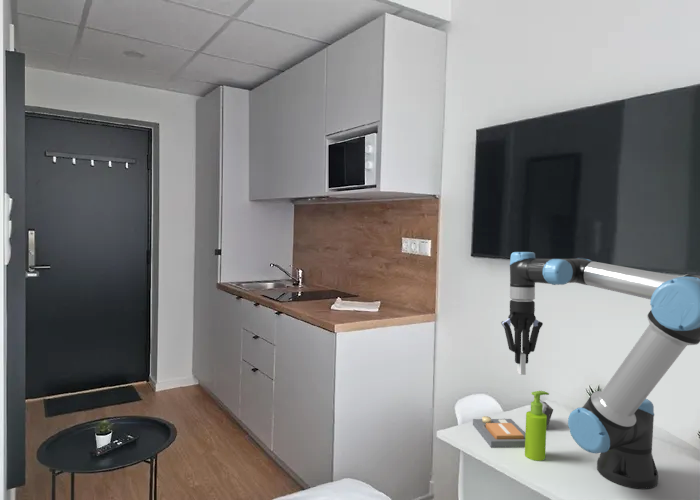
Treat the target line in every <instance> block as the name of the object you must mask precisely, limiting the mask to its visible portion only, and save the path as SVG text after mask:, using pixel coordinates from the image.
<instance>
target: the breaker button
mask: <svg viewBox="0 0 700 500" xmlns="http://www.w3.org/2000/svg"><path fill="white" fill-rule="evenodd" d="M486 429H487V430H488V431H489V432H490V433H491V434H492V436H493V437H494V438H495V439H524V435H523V434H522V433H521V432H520V431H519V430H518V429H517V428H516V427H515V426H514V425H513V424H512V423H486Z"/></svg>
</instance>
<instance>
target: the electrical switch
mask: <svg viewBox="0 0 700 500" xmlns="http://www.w3.org/2000/svg"><path fill="white" fill-rule="evenodd" d="M540 402H541V403H542V404H543V411H542V413H544V414H546V416H547V423H546V431H547V429H548V427H549V424H550V421H551V418H552V415H553V412H554V409H553V408H552V406H550V405H549V404H548V403H547V402H545V401H544V400H542V399H540Z"/></svg>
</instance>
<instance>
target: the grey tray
mask: <svg viewBox="0 0 700 500" xmlns="http://www.w3.org/2000/svg"><path fill="white" fill-rule="evenodd" d="M486 423H512V424H513V425H514V426H515V427H516V428H517V429H518V430H519V431H520V432H521V433H522V434H523V435H524V439H495V438H494V437H493V436H492V434H491V433H490V432H489V431H488V430H487V429H486ZM472 426H473V427H474V428H475V430H476V431H477V432H478V434H480V436H481V437H482V438H483V440H485V442H486V443H487V444H488V445H489V447H490V448H492V449H493V448H525V433H526V431H524V430H523V429H522V428H521V427H520V426H519V425H518V424H517V423H516V422H515V421H514V420H513V419H512V418H492V417H490V416H482V417H481V418H473V419H472Z"/></svg>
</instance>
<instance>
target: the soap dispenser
mask: <svg viewBox="0 0 700 500" xmlns="http://www.w3.org/2000/svg"><path fill="white" fill-rule="evenodd" d="M531 395H532V396H533V401H531V402H530V410H529V411H527V412H526V413H525V447H524V456H525V458H527V459H529V460H531V461H535V462H536V461H537V462H541V461H545V459H546V447H547V446H546V445H547V441H546V440H547V430H546V423H547V416H546V414H544V413H542V411H543V404H542V403H541V402H540V400H541V396H543V395H544V396H545V395H546V396H548V395H550V393H549V392H547V391H546V390H545V391H544V390H536V391H532V392H531Z"/></svg>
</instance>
